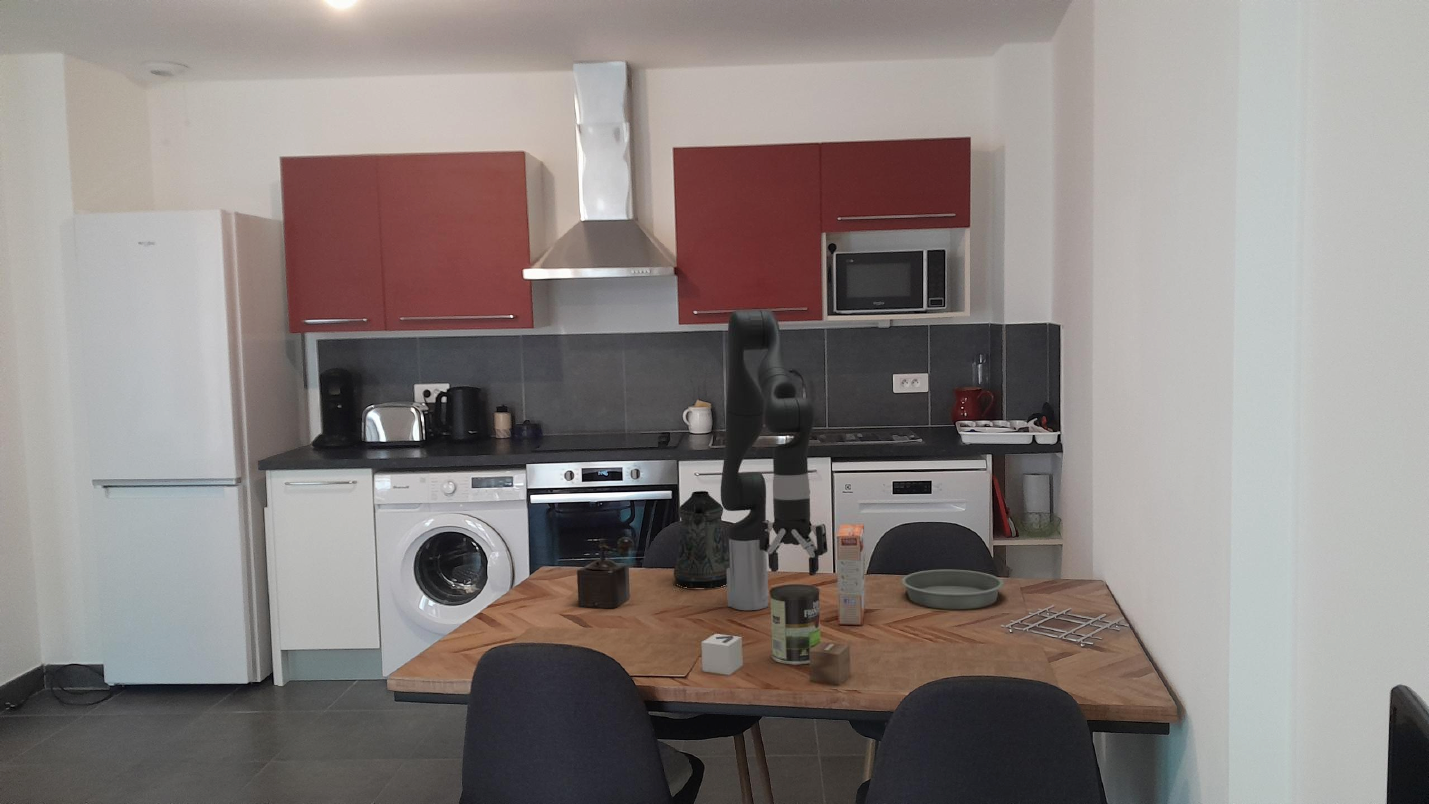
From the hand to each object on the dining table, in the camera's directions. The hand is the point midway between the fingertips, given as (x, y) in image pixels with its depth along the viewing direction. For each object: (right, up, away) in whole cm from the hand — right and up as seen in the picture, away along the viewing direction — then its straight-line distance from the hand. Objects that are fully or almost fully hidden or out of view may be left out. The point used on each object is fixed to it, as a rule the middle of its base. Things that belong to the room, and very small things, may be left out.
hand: (793, 572), depth 201 cm
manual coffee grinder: (-42, -16, +48) cm, 66 cm away
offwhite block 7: (-15, -19, -4) cm, 24 cm away
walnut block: (+6, -18, -12) cm, 23 cm away
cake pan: (+43, -14, +42) cm, 62 cm away
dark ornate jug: (-19, -14, +65) cm, 69 cm away
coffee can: (+1, -18, +1) cm, 18 cm away
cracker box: (+16, -16, +28) cm, 36 cm away
